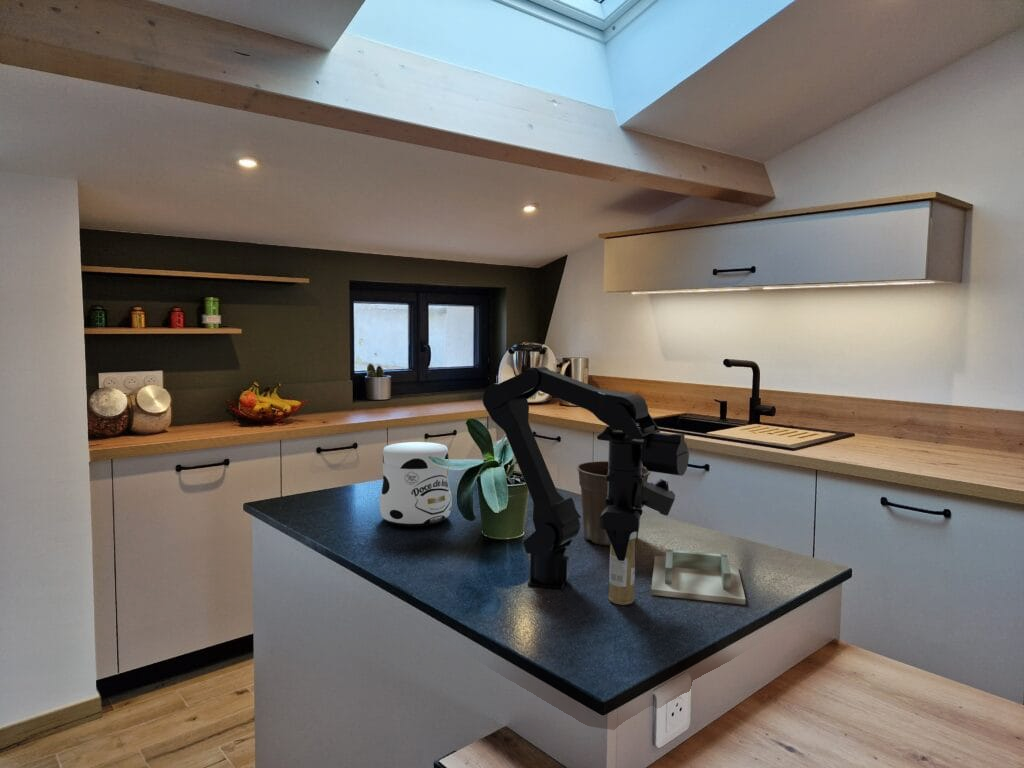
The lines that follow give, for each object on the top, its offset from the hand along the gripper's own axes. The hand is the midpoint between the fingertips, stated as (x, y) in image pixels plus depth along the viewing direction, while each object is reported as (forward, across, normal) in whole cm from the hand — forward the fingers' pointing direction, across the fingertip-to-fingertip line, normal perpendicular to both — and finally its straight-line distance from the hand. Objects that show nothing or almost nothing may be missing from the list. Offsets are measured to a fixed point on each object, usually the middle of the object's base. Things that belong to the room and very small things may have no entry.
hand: (622, 555), depth 118 cm
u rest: (+8, +12, -13) cm, 19 cm away
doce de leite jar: (+8, +34, +52) cm, 63 cm away
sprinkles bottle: (+8, 0, 0) cm, 8 cm away
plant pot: (+8, +34, +5) cm, 35 cm away
